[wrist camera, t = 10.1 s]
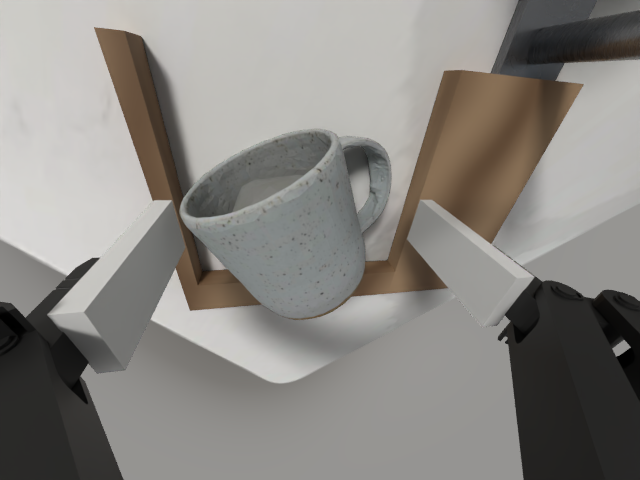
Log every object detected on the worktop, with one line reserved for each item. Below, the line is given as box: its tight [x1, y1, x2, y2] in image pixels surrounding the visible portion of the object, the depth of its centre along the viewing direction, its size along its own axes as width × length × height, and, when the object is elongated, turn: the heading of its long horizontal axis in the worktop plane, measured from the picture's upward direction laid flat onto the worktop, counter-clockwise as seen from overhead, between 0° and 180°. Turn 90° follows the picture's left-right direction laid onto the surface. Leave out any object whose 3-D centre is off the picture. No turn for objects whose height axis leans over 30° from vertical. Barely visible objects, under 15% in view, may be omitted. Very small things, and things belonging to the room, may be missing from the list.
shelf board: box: [94, 27, 584, 311], centre depth 16 cm, size 24×16×2 cm, turn 86°
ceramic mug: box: [179, 129, 391, 320], centre depth 13 cm, size 11×8×8 cm
